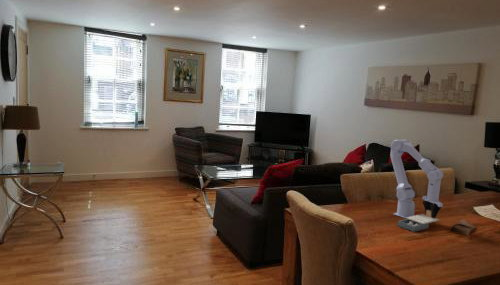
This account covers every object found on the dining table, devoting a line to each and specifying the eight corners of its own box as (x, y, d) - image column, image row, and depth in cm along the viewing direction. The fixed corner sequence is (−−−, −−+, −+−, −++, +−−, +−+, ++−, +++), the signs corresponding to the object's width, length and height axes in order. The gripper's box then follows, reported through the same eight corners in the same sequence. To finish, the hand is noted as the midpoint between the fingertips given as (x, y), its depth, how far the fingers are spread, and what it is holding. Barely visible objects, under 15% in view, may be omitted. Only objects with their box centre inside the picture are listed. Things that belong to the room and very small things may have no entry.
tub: (412, 223, 195) (413, 217, 194) (428, 228, 187) (429, 223, 187) (397, 226, 188) (398, 220, 187) (413, 232, 180) (413, 226, 180)
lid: (422, 217, 199) (423, 208, 199) (439, 223, 191) (440, 213, 191) (405, 221, 191) (406, 211, 191) (422, 226, 183) (423, 217, 183)
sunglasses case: (469, 236, 179) (463, 223, 181) (455, 239, 184) (449, 226, 185) (477, 228, 192) (471, 216, 194) (463, 231, 197) (458, 219, 198)
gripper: (418, 188, 200) (415, 211, 201) (435, 195, 185) (432, 220, 187) (430, 188, 201) (427, 211, 202) (447, 195, 186) (444, 220, 188)
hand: (430, 216), depth 195 cm, fingers closed on lid, 4 cm apart
